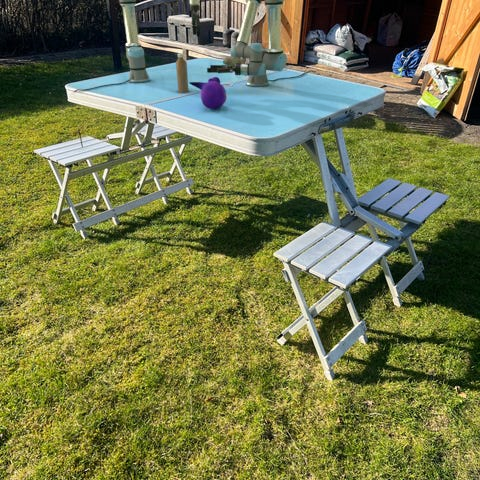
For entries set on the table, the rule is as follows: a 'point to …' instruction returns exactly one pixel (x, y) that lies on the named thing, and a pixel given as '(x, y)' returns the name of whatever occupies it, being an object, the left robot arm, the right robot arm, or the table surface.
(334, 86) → the table surface
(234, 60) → the beige rounded piece
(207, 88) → the toy
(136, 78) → the left robot arm
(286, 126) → the table surface
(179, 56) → the cap
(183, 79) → the bottle
